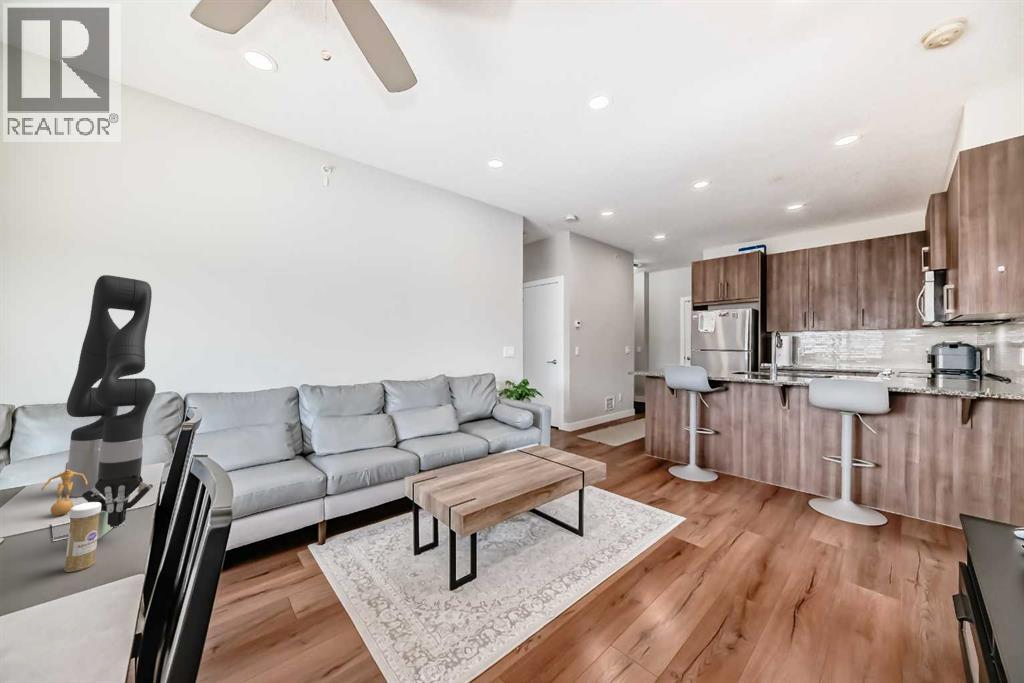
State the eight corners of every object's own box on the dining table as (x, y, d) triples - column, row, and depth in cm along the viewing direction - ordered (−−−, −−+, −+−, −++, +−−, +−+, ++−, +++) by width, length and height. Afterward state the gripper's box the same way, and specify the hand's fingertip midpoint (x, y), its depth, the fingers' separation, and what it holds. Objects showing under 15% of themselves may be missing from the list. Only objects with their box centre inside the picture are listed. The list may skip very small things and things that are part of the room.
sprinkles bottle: (83, 572, 79) (89, 509, 80) (56, 573, 78) (63, 510, 79) (101, 560, 84) (107, 500, 84) (76, 561, 83) (83, 501, 83)
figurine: (35, 521, 98) (40, 476, 98) (41, 513, 102) (46, 469, 103) (82, 513, 103) (87, 470, 104) (86, 506, 108) (90, 465, 108)
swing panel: (108, 526, 97) (111, 502, 97) (116, 525, 98) (119, 501, 98) (85, 544, 88) (88, 517, 89) (94, 543, 89) (97, 516, 89)
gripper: (161, 451, 100) (157, 515, 99) (94, 454, 94) (88, 522, 94) (148, 459, 93) (143, 528, 92) (75, 463, 87) (69, 537, 87)
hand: (116, 525), depth 93 cm, fingers closed
